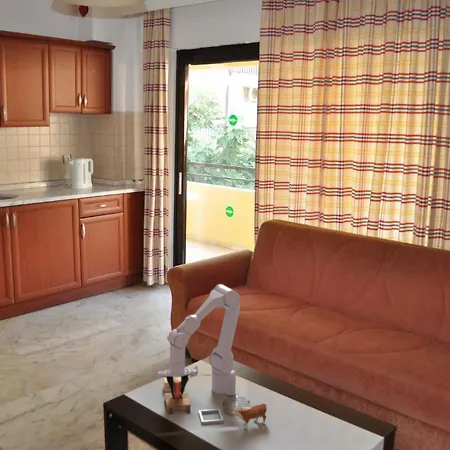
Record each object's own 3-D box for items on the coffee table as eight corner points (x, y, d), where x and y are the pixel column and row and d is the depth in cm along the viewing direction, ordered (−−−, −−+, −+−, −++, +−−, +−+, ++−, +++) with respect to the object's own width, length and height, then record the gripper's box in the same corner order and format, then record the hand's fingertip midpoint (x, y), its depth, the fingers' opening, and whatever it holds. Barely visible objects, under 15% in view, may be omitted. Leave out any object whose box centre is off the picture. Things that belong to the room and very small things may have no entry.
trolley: (186, 396, 221) (187, 389, 220) (191, 414, 208) (191, 407, 207) (164, 398, 219) (164, 390, 218) (167, 416, 206) (167, 408, 205)
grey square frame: (219, 413, 209) (219, 408, 209) (223, 425, 201) (223, 420, 201) (198, 415, 207) (198, 410, 207) (201, 426, 200) (201, 421, 199)
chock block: (183, 388, 228) (183, 376, 227) (184, 392, 224) (184, 381, 223) (163, 389, 226) (163, 378, 225) (164, 394, 223) (164, 382, 222)
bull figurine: (230, 425, 201) (231, 405, 200) (263, 418, 206) (264, 398, 205) (235, 432, 197) (236, 411, 196) (269, 424, 202) (270, 404, 201)
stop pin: (180, 399, 217) (180, 380, 215) (181, 403, 214) (181, 384, 212) (172, 399, 216) (172, 380, 214) (173, 404, 213) (173, 384, 211)
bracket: (211, 383, 233) (211, 376, 232) (190, 379, 237) (190, 371, 236) (217, 377, 239) (217, 369, 238) (196, 372, 243) (196, 365, 242)
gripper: (194, 355, 217) (194, 387, 219) (157, 357, 214) (157, 389, 217) (197, 363, 210) (196, 396, 213) (159, 365, 207) (158, 398, 210)
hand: (177, 393), depth 214 cm, fingers closed on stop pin, 3 cm apart
